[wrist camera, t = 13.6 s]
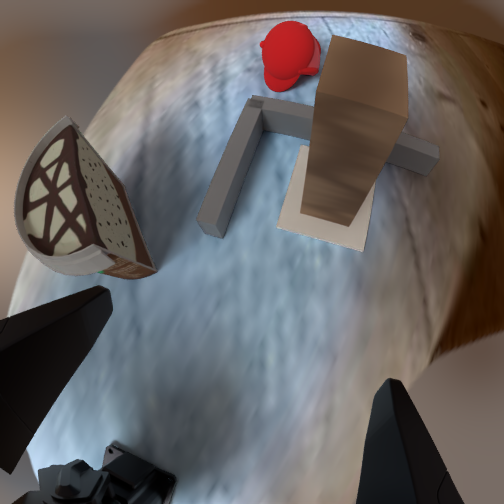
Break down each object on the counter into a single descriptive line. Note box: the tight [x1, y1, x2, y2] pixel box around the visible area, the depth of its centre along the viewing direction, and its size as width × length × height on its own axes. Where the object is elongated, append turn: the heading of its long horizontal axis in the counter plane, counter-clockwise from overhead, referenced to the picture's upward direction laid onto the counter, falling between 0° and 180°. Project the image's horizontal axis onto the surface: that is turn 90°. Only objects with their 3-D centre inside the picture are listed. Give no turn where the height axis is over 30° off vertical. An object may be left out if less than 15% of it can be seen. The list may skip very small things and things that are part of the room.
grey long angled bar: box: [196, 95, 439, 252], centre depth 23 cm, size 12×17×3 cm
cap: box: [260, 21, 321, 92], centre depth 26 cm, size 8×6×6 cm
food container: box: [14, 115, 157, 280], centre depth 20 cm, size 12×6×10 cm, turn 28°
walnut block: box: [300, 35, 408, 227], centre depth 18 cm, size 4×5×13 cm
